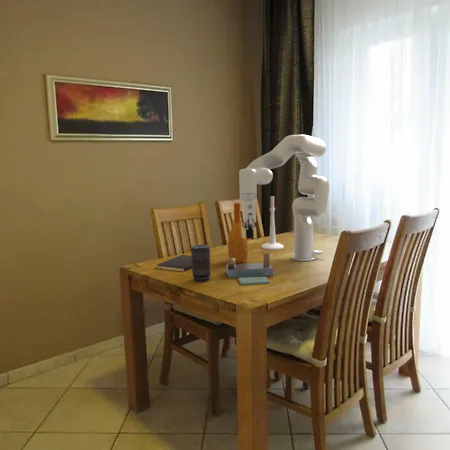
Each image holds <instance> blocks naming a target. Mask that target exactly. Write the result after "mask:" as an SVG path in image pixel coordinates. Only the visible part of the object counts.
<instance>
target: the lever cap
mask: <svg viewBox="0 0 450 450" xmlns="http://www.w3.org/2000/svg"><path fill="white" fill-rule="evenodd" d="M246 230H247V225H244V226H243V227H241V231H242V238H243V239H244V238H246ZM253 234H254V238H253V239H257V227H256V226H255V225H254V224H253Z"/></svg>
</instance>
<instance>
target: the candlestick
mask: <svg viewBox="0 0 450 450" xmlns="http://www.w3.org/2000/svg"><path fill="white" fill-rule="evenodd" d="M275 210H276V207H275V196H273V195H272V196H270V207H269V212H270V218H269V219H270V220H269V221H270V222H269V241H268V242H266V243H264V244H262V245H261V249H263V250H269V251H270V250H271V251H273V250H274V251H277V250H281V249H284V245H283V244H282V243H279V242H276V241H277V240H276V226H275V225H276V223H275Z"/></svg>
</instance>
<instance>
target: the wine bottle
mask: <svg viewBox="0 0 450 450" xmlns="http://www.w3.org/2000/svg"><path fill="white" fill-rule="evenodd" d="M233 212H234V218H233V222H232V223H233V224H232V225H231V228H230V231H229V234H228V237H227V250H228V251H227V252H228V258H235V264H245V263H246V262H247V261H248V251H249V250H248V249H249V247H248V246H249V245H248V239H247V238H244V239H243V238H242V231H241V227H243V226H244V222H242V220H241V203H240V202H234V203H233Z"/></svg>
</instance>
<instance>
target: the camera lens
mask: <svg viewBox="0 0 450 450" xmlns="http://www.w3.org/2000/svg"><path fill="white" fill-rule="evenodd" d="M190 254H191V255H190V256H191V257H192V268H191V270H192V277H193V280H194V281H195V282H199V283H203V282H205V283H206V282H208V281H209V280H210V277H211V249H210V245H208V244H196V245H192V246H191V250H190Z"/></svg>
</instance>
